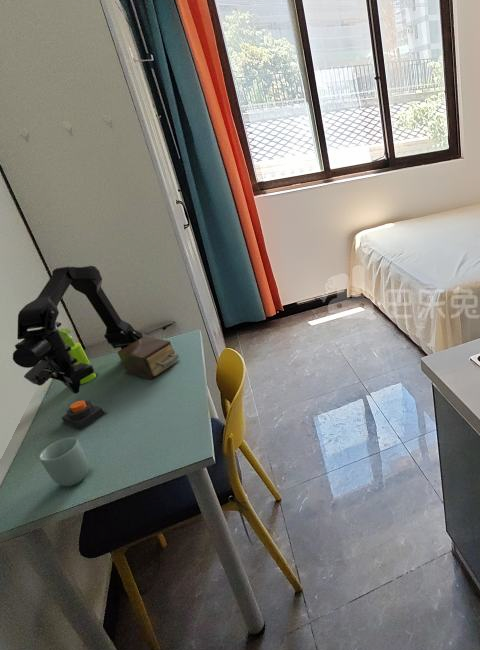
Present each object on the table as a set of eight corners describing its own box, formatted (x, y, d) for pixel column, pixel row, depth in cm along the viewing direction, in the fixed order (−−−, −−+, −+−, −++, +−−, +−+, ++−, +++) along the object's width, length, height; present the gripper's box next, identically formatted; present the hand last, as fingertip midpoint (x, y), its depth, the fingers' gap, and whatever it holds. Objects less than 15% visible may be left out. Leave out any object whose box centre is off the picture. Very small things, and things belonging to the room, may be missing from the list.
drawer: (186, 363, 155) (180, 346, 152) (163, 378, 147) (156, 361, 144) (154, 356, 162) (148, 340, 159) (131, 370, 154) (123, 354, 151)
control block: (64, 422, 133) (58, 412, 131) (87, 408, 138) (82, 397, 136) (82, 429, 129) (76, 418, 127) (105, 413, 134) (99, 403, 133)
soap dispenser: (84, 385, 150) (58, 335, 142) (72, 382, 153) (46, 332, 145) (101, 376, 155) (77, 326, 147) (89, 372, 158) (65, 323, 150)
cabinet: (177, 361, 158) (169, 341, 154) (152, 379, 149) (143, 357, 146) (152, 356, 164) (144, 336, 160) (126, 372, 155) (117, 351, 151)
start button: (70, 411, 131) (67, 406, 130) (82, 403, 134) (79, 399, 133) (77, 413, 130) (74, 409, 129) (89, 406, 133) (86, 401, 132)
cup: (75, 492, 106) (57, 461, 102) (49, 490, 108) (30, 459, 104) (101, 467, 113) (85, 437, 109) (76, 465, 115) (59, 436, 111)
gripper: (3, 358, 121) (29, 403, 128) (41, 368, 113) (67, 416, 120) (46, 337, 130) (68, 381, 137) (84, 346, 122) (106, 392, 129)
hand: (76, 392), depth 130 cm, fingers closed
